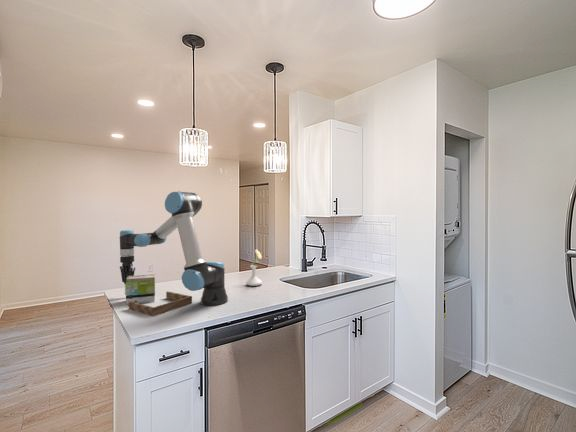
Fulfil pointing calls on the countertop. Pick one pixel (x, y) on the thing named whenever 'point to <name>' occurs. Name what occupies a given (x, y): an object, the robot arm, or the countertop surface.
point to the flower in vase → (254, 280)
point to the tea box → (140, 288)
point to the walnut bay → (153, 311)
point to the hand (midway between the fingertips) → (127, 294)
